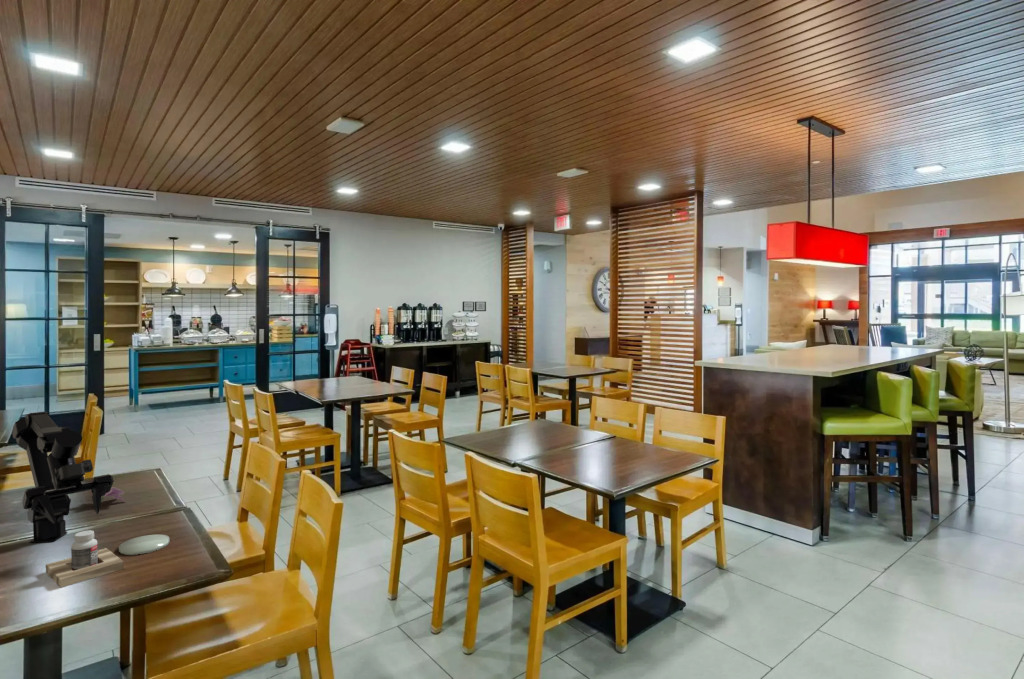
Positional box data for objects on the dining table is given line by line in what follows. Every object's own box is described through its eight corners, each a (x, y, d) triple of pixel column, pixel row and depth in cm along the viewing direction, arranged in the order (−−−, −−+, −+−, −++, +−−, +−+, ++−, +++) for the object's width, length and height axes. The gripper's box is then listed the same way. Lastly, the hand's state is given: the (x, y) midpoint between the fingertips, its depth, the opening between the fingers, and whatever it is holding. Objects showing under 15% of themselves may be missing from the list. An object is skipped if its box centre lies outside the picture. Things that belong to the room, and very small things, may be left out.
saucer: (110, 556, 151) (109, 553, 151) (131, 539, 162) (131, 535, 162) (158, 553, 153) (158, 549, 153) (176, 536, 165) (176, 533, 165)
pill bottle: (97, 572, 142) (96, 534, 141) (70, 577, 139) (69, 538, 138) (98, 564, 146) (98, 527, 146) (72, 569, 143) (72, 531, 143)
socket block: (46, 572, 141) (45, 564, 141) (106, 555, 151) (106, 548, 151) (60, 587, 133) (60, 579, 133) (123, 568, 143) (123, 561, 143)
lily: (123, 511, 189) (135, 483, 193) (83, 503, 183) (96, 474, 187) (119, 512, 198) (130, 485, 202) (80, 505, 191) (93, 478, 196)
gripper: (23, 458, 141) (36, 510, 135) (110, 445, 156) (125, 491, 149) (17, 483, 146) (28, 534, 140) (102, 468, 161) (116, 514, 154)
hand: (76, 517), depth 146 cm, fingers open, 9 cm apart
